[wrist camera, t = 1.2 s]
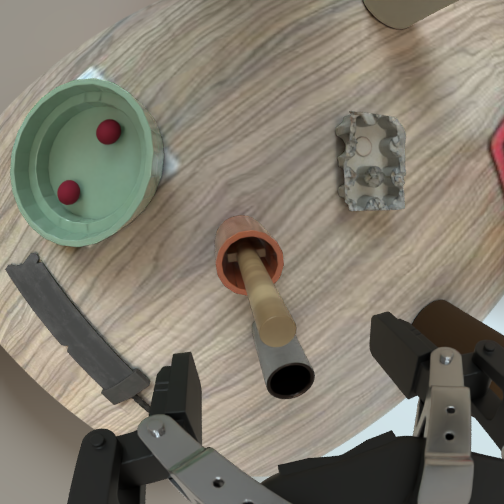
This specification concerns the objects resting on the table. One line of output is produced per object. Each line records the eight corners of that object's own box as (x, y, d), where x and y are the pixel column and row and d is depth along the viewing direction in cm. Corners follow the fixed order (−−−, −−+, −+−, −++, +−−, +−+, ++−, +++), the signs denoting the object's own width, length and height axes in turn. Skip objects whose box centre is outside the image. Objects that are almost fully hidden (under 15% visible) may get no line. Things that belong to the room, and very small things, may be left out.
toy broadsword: (34, 236, 29) (26, 240, 27) (206, 427, 38) (206, 436, 36) (7, 269, 29) (-1, 273, 27) (171, 443, 38) (170, 452, 36)
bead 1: (62, 182, 26) (51, 184, 24) (82, 176, 27) (71, 177, 24) (66, 205, 27) (55, 209, 25) (85, 200, 27) (75, 203, 25)
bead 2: (100, 124, 26) (91, 121, 23) (123, 118, 26) (115, 114, 23) (102, 148, 26) (93, 146, 24) (125, 142, 27) (117, 140, 24)
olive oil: (428, 286, 37) (559, 378, 13) (462, 305, 39) (568, 382, 15) (392, 349, 39) (494, 464, 15) (430, 359, 41) (519, 451, 17)
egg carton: (333, 112, 29) (349, 105, 25) (389, 120, 30) (409, 116, 26) (333, 207, 32) (349, 213, 28) (389, 208, 33) (408, 213, 29)
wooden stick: (223, 235, 31) (240, 322, 13) (256, 230, 31) (311, 309, 14) (226, 252, 31) (245, 353, 14) (258, 247, 31) (312, 340, 14)
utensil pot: (211, 219, 30) (211, 236, 23) (262, 211, 31) (279, 225, 23) (219, 268, 32) (222, 300, 24) (268, 260, 32) (286, 289, 25)
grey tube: (285, 343, 36) (309, 398, 26) (249, 342, 35) (263, 400, 25) (291, 311, 34) (320, 361, 25) (253, 309, 34) (270, 363, 24)
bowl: (34, 116, 24) (6, 110, 18) (156, 78, 26) (144, 59, 20) (52, 243, 28) (26, 258, 23) (174, 218, 30) (166, 230, 24)
